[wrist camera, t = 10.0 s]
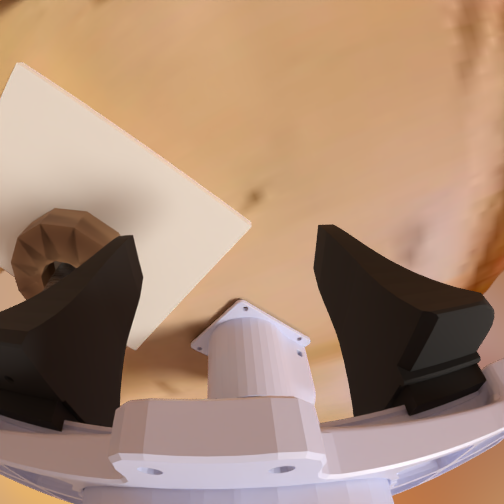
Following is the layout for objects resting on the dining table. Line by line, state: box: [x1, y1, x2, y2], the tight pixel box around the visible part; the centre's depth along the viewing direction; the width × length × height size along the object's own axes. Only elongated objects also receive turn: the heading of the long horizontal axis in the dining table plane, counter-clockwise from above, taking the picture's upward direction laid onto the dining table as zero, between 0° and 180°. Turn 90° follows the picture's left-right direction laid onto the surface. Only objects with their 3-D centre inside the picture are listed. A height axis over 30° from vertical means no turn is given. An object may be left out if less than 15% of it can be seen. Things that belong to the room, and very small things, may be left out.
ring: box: [11, 208, 120, 300], centre depth 22 cm, size 11×11×2 cm
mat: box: [0, 62, 252, 350], centre depth 21 cm, size 22×18×1 cm
